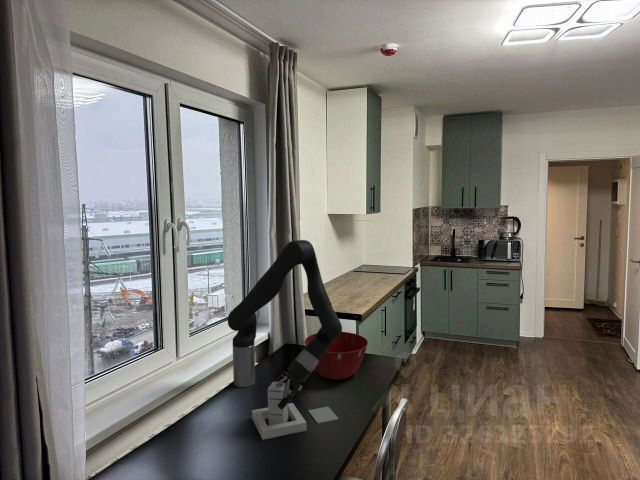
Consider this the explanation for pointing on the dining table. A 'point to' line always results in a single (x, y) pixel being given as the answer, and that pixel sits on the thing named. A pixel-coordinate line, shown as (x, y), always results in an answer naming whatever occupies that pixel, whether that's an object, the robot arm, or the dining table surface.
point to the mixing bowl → (341, 356)
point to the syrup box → (274, 398)
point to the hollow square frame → (279, 429)
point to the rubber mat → (323, 415)
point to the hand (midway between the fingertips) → (274, 403)
